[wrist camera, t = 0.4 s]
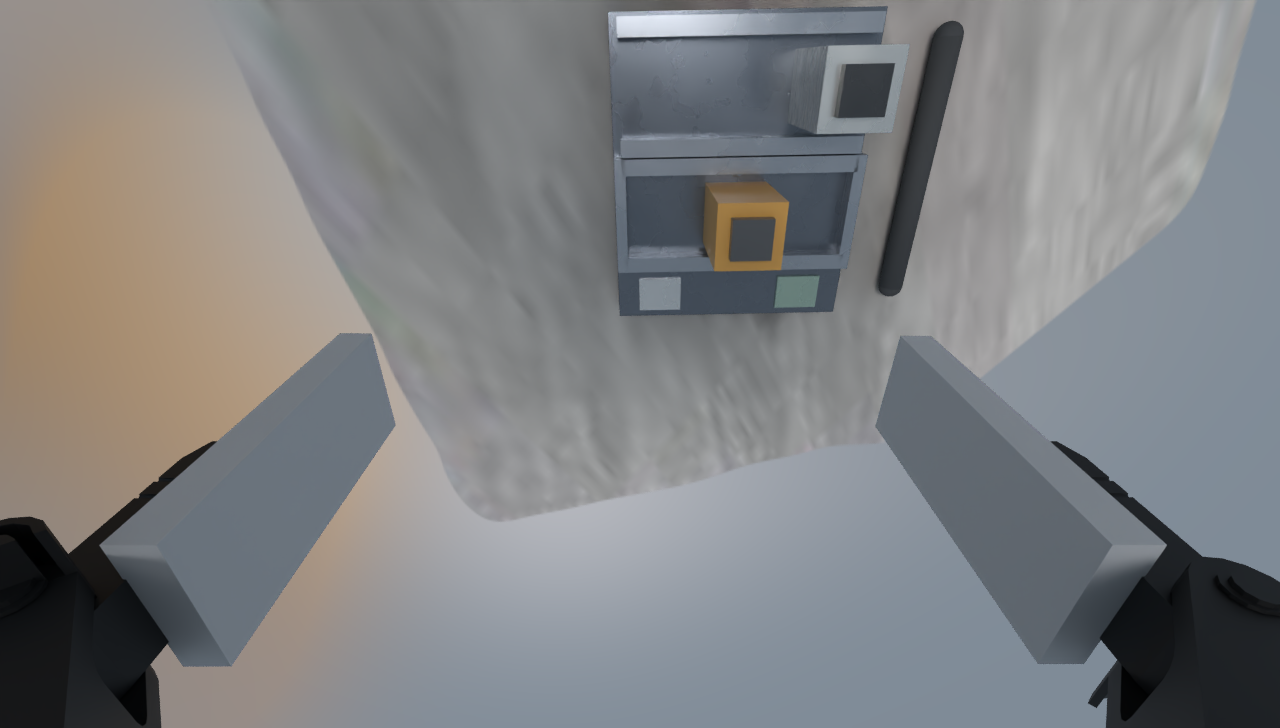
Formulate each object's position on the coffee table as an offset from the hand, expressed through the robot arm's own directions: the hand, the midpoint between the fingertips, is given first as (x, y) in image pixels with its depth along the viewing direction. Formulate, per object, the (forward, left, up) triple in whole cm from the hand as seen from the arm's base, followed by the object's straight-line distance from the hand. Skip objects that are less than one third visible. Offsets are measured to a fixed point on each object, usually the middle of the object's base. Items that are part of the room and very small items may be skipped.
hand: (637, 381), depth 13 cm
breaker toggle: (+2, +7, -25) cm, 26 cm away
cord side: (0, +19, -27) cm, 33 cm away
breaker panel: (0, +7, -27) cm, 27 cm away
